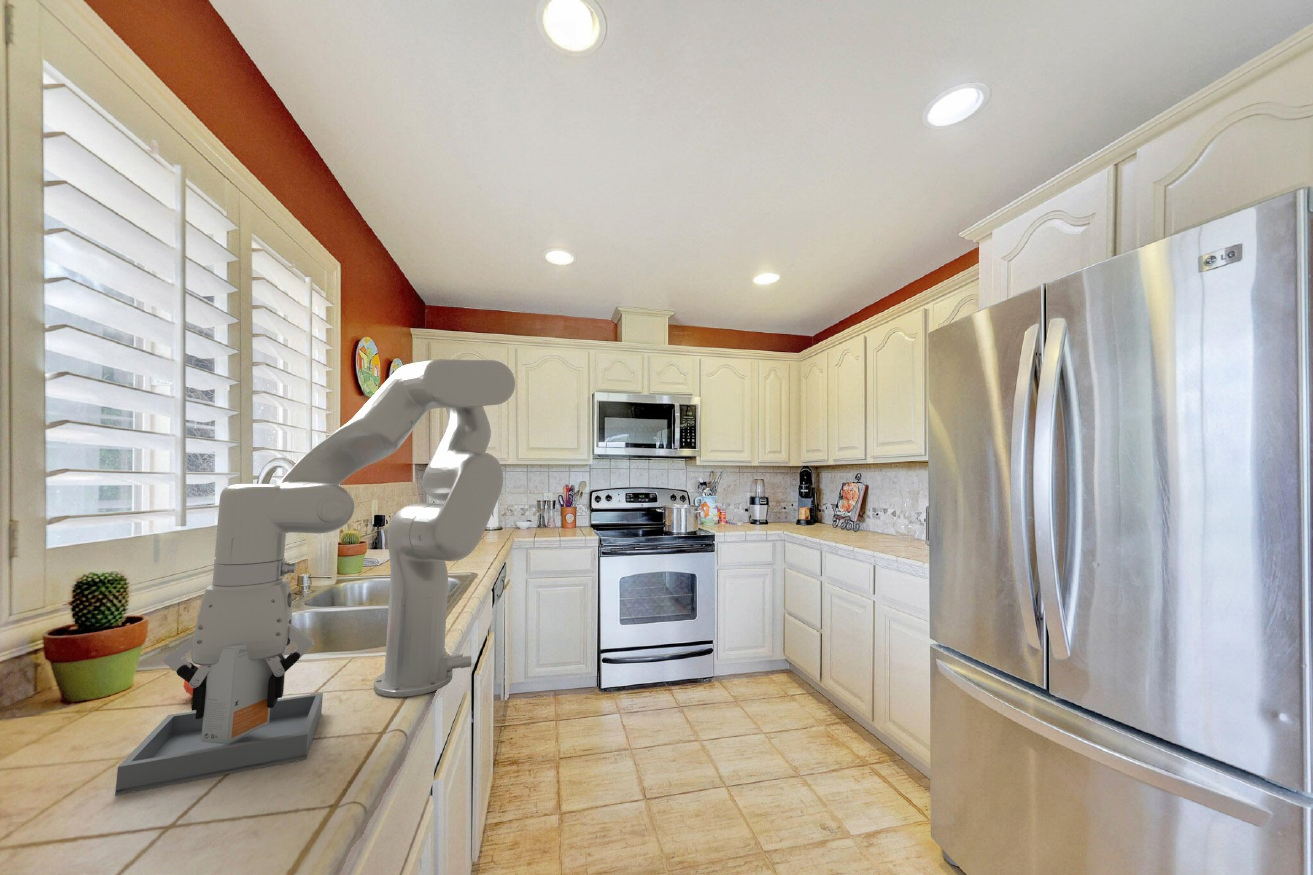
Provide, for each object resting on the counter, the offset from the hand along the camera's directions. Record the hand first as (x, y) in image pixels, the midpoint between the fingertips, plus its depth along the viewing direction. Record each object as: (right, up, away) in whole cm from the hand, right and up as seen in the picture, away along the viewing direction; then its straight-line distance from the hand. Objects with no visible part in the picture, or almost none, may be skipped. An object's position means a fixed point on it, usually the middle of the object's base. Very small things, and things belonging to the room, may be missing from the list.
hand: (238, 707), depth 68 cm
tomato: (-17, -6, +15) cm, 24 cm away
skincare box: (0, -3, 0) cm, 3 cm away
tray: (0, -5, -1) cm, 5 cm away
